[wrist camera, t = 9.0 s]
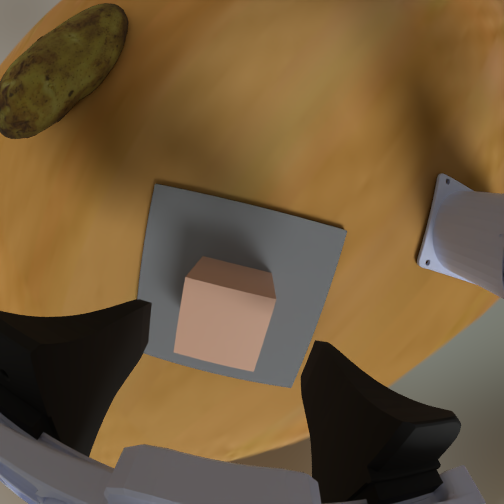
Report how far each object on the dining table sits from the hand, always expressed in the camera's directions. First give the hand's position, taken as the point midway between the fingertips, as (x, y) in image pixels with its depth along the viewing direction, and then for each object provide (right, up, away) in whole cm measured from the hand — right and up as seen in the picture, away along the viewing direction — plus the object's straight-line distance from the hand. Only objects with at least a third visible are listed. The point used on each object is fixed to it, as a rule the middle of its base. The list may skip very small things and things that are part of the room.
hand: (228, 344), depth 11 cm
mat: (-1, 0, +9) cm, 9 cm away
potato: (-14, +19, +6) cm, 24 cm away
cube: (-1, +1, +9) cm, 9 cm away
